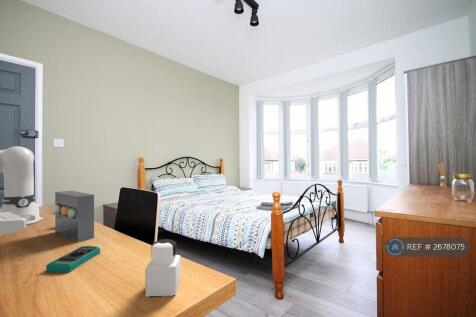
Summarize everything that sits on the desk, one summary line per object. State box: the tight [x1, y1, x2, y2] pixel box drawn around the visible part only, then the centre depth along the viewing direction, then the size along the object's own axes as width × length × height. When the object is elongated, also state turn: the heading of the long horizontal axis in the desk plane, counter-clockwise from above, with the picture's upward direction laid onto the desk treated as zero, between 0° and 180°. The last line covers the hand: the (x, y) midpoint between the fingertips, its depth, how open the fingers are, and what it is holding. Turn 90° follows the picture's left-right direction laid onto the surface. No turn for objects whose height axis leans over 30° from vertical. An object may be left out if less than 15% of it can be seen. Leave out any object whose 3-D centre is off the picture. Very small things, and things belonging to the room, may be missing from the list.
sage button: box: [67, 208, 75, 218], centre depth 94 cm, size 4×2×4 cm, turn 57°
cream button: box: [50, 204, 61, 215], centre depth 100 cm, size 4×2×4 cm, turn 57°
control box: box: [54, 190, 95, 243], centre depth 100 cm, size 22×6×18 cm, turn 57°
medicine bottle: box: [144, 238, 181, 297], centre depth 59 cm, size 7×7×12 cm
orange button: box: [61, 206, 68, 216], centre depth 98 cm, size 4×2×4 cm, turn 57°
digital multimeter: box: [45, 245, 101, 274], centre depth 75 cm, size 7×15×3 cm, turn 177°
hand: (34, 217), depth 89 cm, fingers closed
